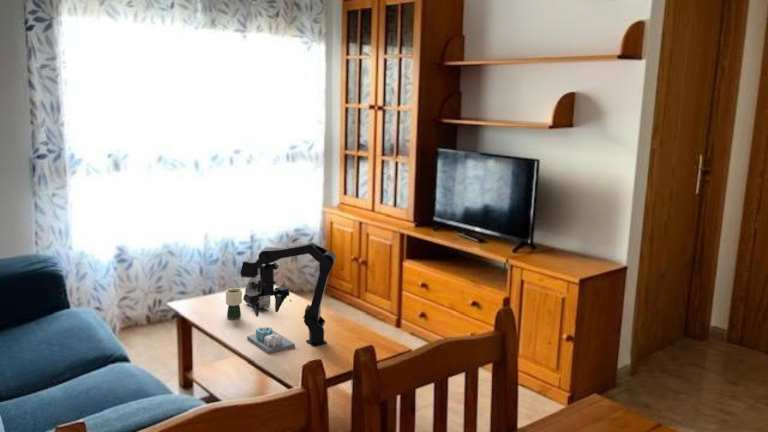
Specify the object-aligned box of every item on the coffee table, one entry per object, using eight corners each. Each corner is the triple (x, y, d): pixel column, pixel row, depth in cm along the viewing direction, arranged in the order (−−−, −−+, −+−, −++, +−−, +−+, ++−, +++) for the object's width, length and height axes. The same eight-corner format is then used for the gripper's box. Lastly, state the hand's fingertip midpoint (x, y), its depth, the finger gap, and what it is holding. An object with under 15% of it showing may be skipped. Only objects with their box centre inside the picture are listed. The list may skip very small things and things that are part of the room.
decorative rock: (243, 303, 315) (243, 273, 312) (255, 300, 319) (255, 271, 316) (260, 313, 303) (260, 282, 300) (272, 310, 307) (272, 280, 304)
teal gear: (275, 338, 270) (275, 330, 270) (261, 341, 266) (261, 333, 265) (267, 333, 275) (267, 325, 275) (253, 336, 271) (253, 328, 270)
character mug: (246, 319, 293) (246, 292, 291) (231, 322, 289) (231, 294, 287) (236, 312, 302) (236, 285, 299) (221, 315, 298) (221, 288, 295)
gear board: (294, 347, 266) (294, 333, 265) (268, 353, 258) (268, 339, 257) (272, 333, 279) (272, 320, 278) (247, 339, 272) (247, 325, 271)
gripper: (276, 270, 279) (276, 304, 282) (237, 277, 267) (237, 313, 270) (290, 276, 271) (289, 312, 274) (250, 284, 259) (250, 321, 262)
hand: (266, 314), depth 270 cm, fingers open, 9 cm apart
